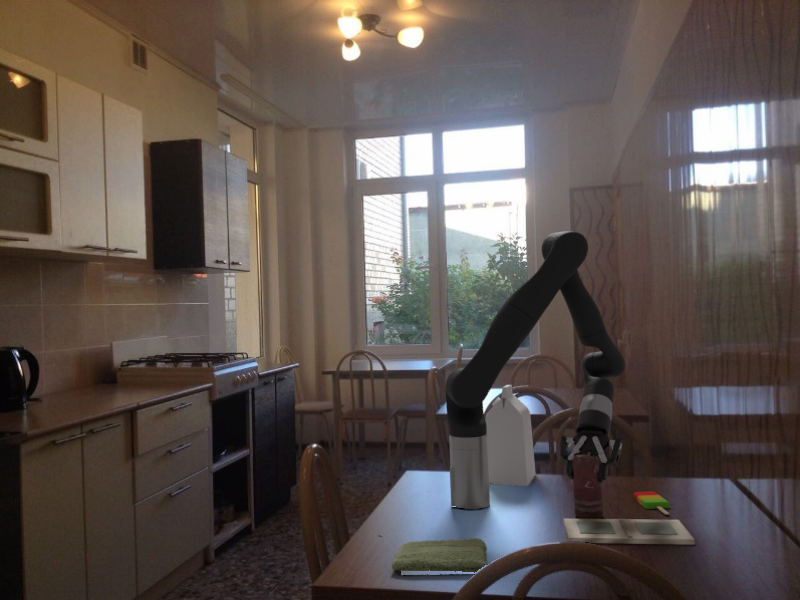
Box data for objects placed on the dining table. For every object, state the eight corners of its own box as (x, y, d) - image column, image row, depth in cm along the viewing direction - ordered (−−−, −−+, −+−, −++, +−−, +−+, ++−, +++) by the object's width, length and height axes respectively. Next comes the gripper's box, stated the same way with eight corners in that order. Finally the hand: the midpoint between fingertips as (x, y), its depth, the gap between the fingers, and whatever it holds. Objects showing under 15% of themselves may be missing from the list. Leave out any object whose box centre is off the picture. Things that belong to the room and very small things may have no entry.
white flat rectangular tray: (569, 542, 131) (568, 536, 131) (563, 523, 143) (563, 517, 143) (694, 544, 128) (694, 537, 128) (678, 524, 139) (678, 518, 140)
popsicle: (654, 498, 160) (654, 490, 160) (679, 517, 145) (679, 509, 145) (632, 499, 160) (632, 491, 160) (655, 518, 145) (654, 510, 145)
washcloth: (398, 552, 131) (398, 536, 131) (486, 552, 129) (486, 535, 129) (391, 579, 118) (390, 561, 118) (489, 579, 116) (488, 561, 116)
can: (603, 512, 149) (600, 451, 149) (602, 521, 143) (599, 457, 143) (576, 511, 151) (573, 450, 151) (574, 519, 145) (571, 456, 145)
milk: (527, 486, 174) (523, 388, 174) (485, 483, 178) (481, 388, 178) (535, 475, 185) (531, 383, 185) (495, 472, 189) (492, 383, 190)
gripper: (561, 407, 158) (550, 467, 147) (623, 409, 151) (616, 472, 140) (568, 425, 162) (557, 485, 152) (628, 428, 155) (621, 491, 145)
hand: (585, 478), depth 146 cm, fingers closed on can, 6 cm apart
